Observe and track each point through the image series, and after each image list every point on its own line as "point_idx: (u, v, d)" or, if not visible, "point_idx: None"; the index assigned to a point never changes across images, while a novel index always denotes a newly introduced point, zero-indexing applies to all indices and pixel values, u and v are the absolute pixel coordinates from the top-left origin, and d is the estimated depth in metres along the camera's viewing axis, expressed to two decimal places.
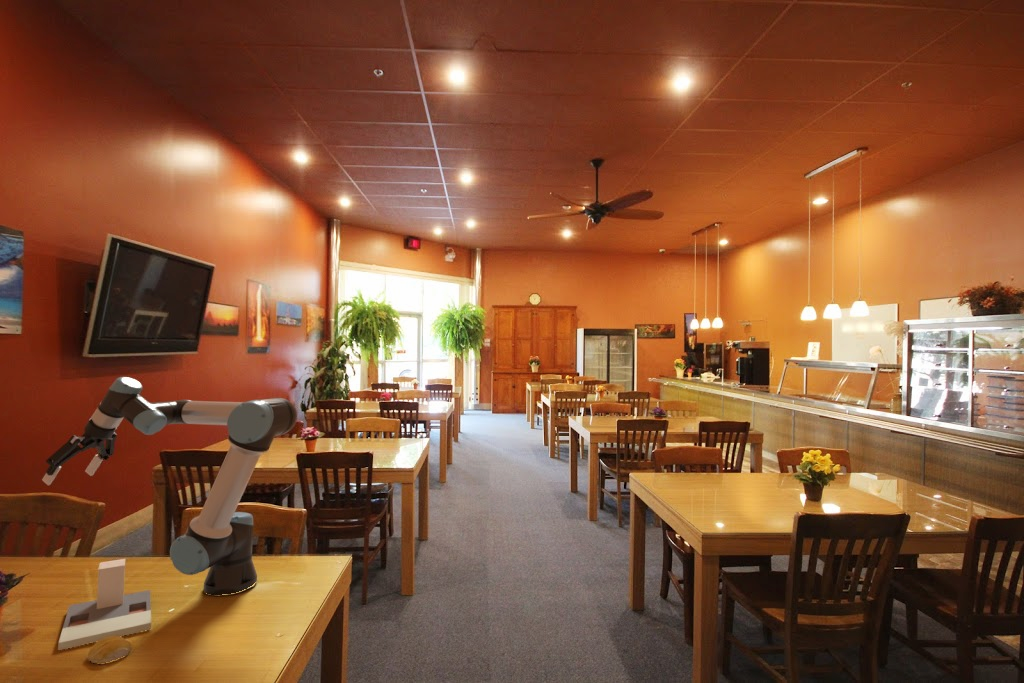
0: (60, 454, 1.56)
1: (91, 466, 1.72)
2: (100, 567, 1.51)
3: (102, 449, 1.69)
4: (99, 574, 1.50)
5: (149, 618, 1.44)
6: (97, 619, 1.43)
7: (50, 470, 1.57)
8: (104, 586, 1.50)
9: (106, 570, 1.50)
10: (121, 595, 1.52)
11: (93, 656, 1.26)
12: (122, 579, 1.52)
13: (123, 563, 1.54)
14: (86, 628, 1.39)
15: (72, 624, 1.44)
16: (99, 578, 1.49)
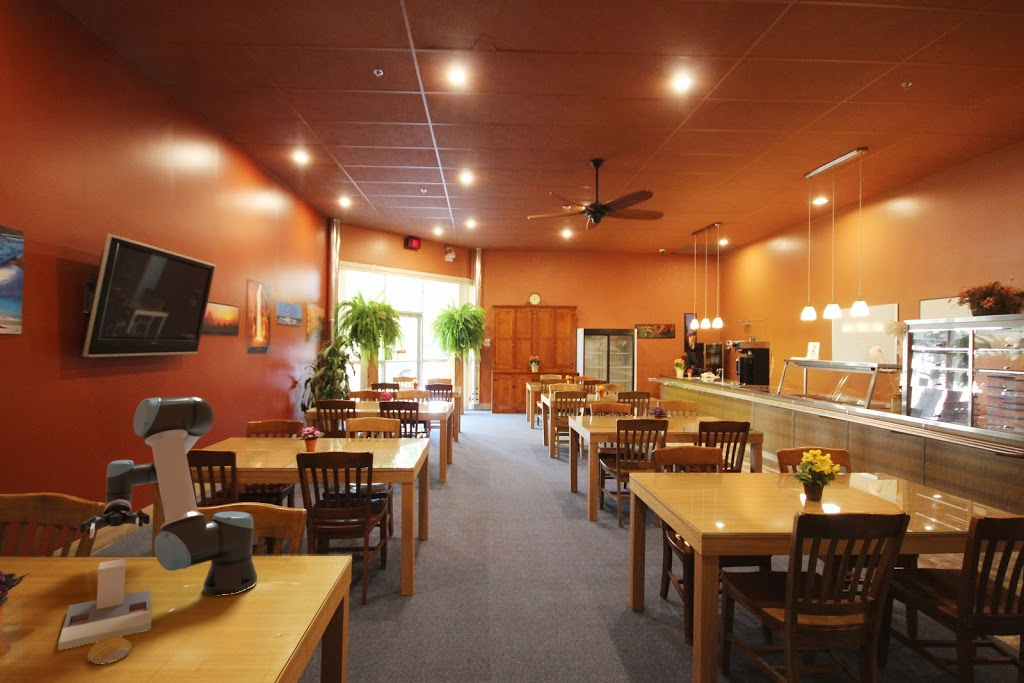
0: None
1: None
2: (100, 567, 1.51)
3: (131, 515, 1.73)
4: (99, 574, 1.50)
5: (149, 618, 1.44)
6: (97, 619, 1.43)
7: None
8: (104, 586, 1.50)
9: (106, 570, 1.50)
10: (121, 595, 1.52)
11: (93, 656, 1.26)
12: (122, 579, 1.52)
13: (123, 563, 1.54)
14: (86, 628, 1.39)
15: (72, 624, 1.44)
16: (99, 578, 1.49)
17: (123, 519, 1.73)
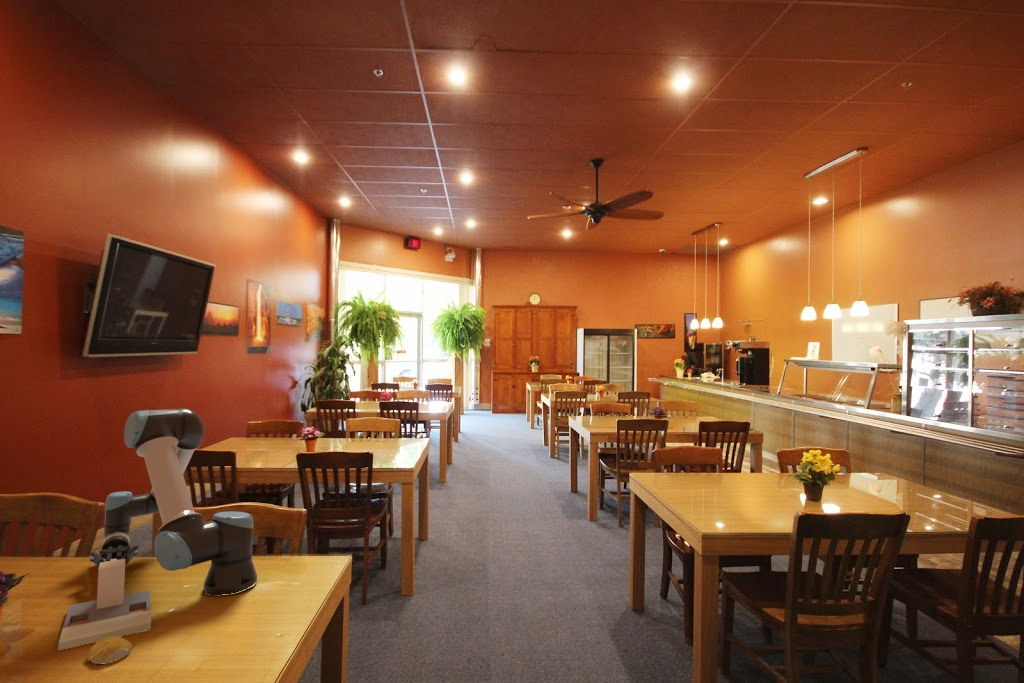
0: (96, 559, 1.66)
1: None
2: (100, 567, 1.51)
3: (119, 553, 1.71)
4: (99, 574, 1.50)
5: (149, 618, 1.44)
6: (97, 619, 1.43)
7: None
8: (104, 586, 1.50)
9: (106, 570, 1.50)
10: (121, 595, 1.52)
11: (93, 656, 1.26)
12: (122, 579, 1.52)
13: (123, 563, 1.54)
14: (86, 628, 1.39)
15: (72, 624, 1.44)
16: (99, 578, 1.49)
17: (115, 555, 1.72)
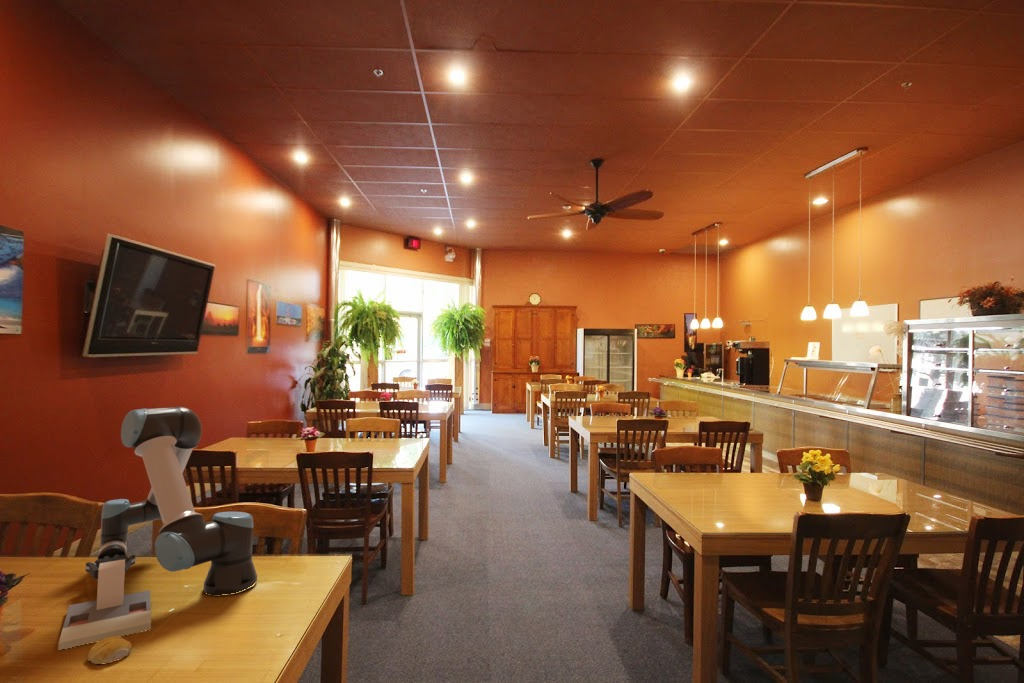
0: (92, 570, 1.61)
1: None
2: (100, 568, 1.50)
3: None
4: (99, 575, 1.49)
5: (149, 618, 1.44)
6: (97, 619, 1.43)
7: None
8: (104, 587, 1.50)
9: (106, 571, 1.50)
10: (121, 596, 1.52)
11: (93, 656, 1.26)
12: (122, 580, 1.52)
13: (123, 564, 1.54)
14: (86, 628, 1.39)
15: (72, 624, 1.44)
16: (99, 579, 1.49)
17: None
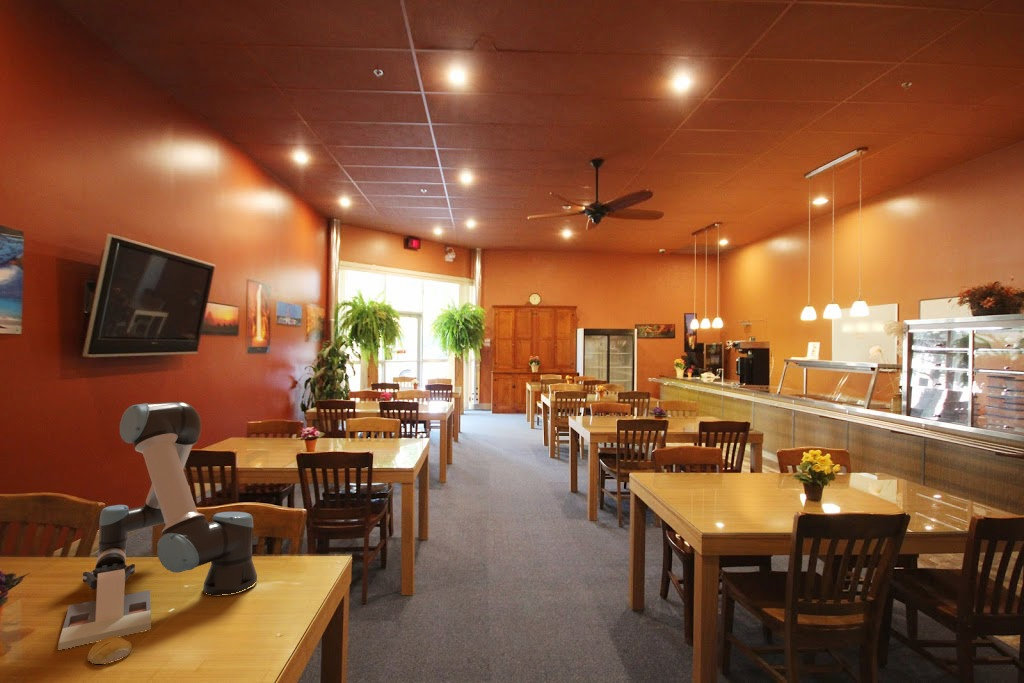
0: (89, 580, 1.54)
1: None
2: (99, 578, 1.43)
3: None
4: (98, 586, 1.42)
5: (149, 618, 1.44)
6: None
7: None
8: (103, 599, 1.43)
9: (105, 582, 1.43)
10: (121, 607, 1.45)
11: (93, 657, 1.26)
12: (122, 590, 1.45)
13: (123, 574, 1.47)
14: (86, 628, 1.39)
15: (72, 624, 1.44)
16: (98, 590, 1.42)
17: None
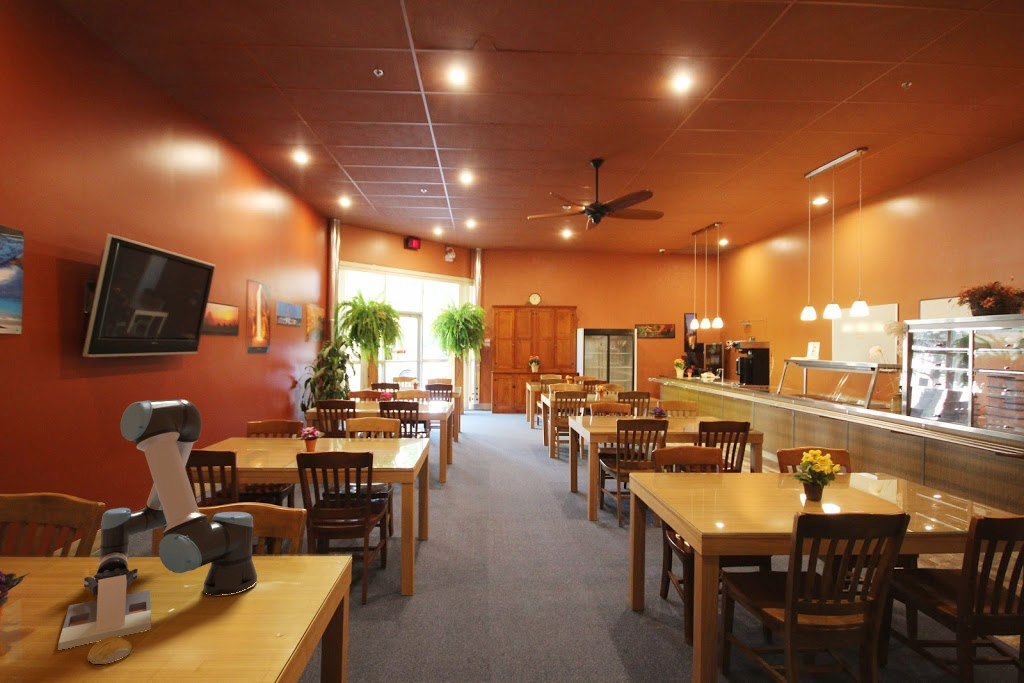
0: (91, 585, 1.50)
1: None
2: (100, 585, 1.39)
3: None
4: (99, 593, 1.38)
5: (149, 618, 1.44)
6: None
7: None
8: (104, 606, 1.39)
9: (106, 588, 1.39)
10: (123, 615, 1.41)
11: (93, 657, 1.26)
12: (124, 597, 1.41)
13: (124, 580, 1.43)
14: (86, 628, 1.39)
15: (72, 624, 1.44)
16: (99, 597, 1.38)
17: None
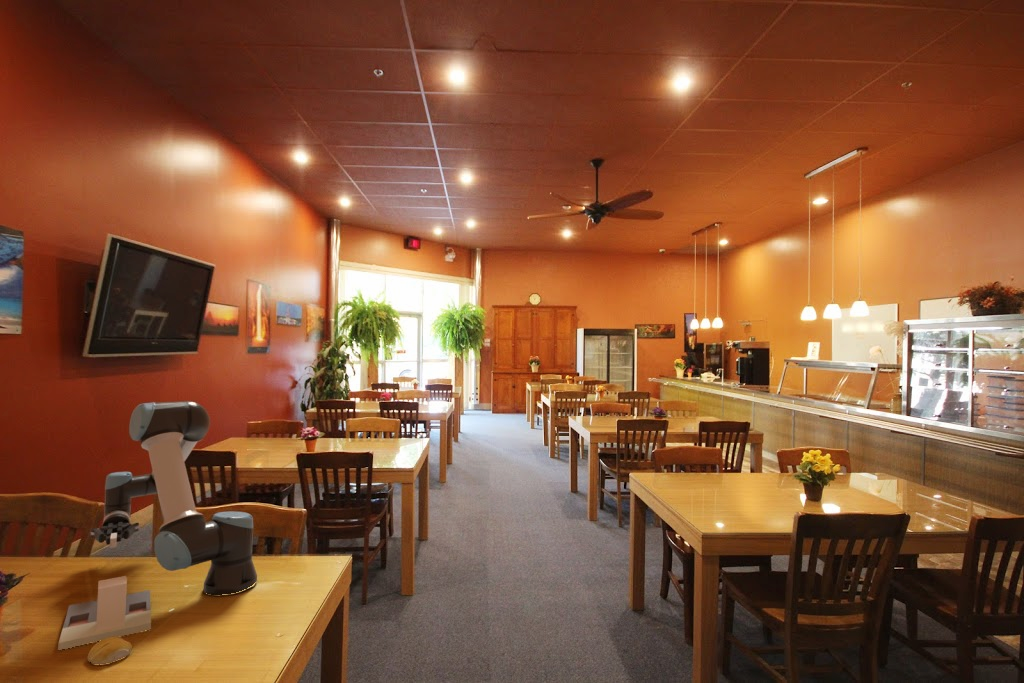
0: (97, 534, 1.67)
1: None
2: (100, 586, 1.39)
3: (119, 528, 1.71)
4: (99, 594, 1.37)
5: (149, 618, 1.44)
6: None
7: (106, 538, 1.64)
8: (104, 607, 1.38)
9: (106, 589, 1.38)
10: (123, 616, 1.40)
11: (93, 657, 1.26)
12: (124, 598, 1.40)
13: (125, 581, 1.42)
14: (86, 628, 1.39)
15: (72, 624, 1.44)
16: (99, 598, 1.37)
17: (116, 531, 1.73)
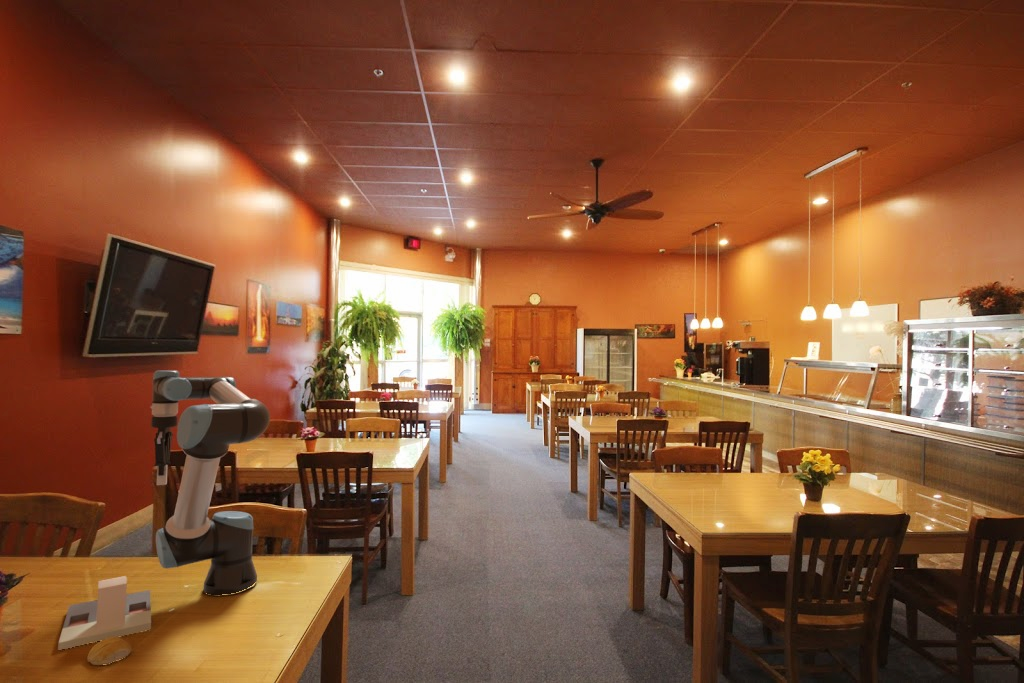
0: (161, 454, 1.78)
1: None
2: (100, 586, 1.39)
3: (168, 448, 1.84)
4: (99, 594, 1.37)
5: (149, 618, 1.44)
6: None
7: (161, 470, 1.80)
8: (104, 607, 1.38)
9: (106, 589, 1.38)
10: (123, 616, 1.40)
11: (93, 657, 1.26)
12: (124, 598, 1.40)
13: (125, 581, 1.42)
14: (86, 628, 1.39)
15: (72, 624, 1.44)
16: (99, 598, 1.37)
17: None
